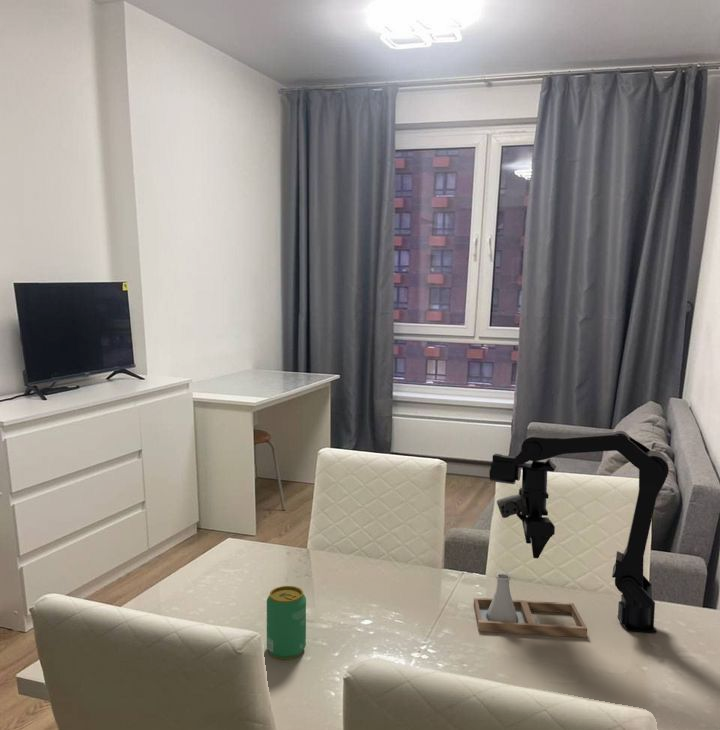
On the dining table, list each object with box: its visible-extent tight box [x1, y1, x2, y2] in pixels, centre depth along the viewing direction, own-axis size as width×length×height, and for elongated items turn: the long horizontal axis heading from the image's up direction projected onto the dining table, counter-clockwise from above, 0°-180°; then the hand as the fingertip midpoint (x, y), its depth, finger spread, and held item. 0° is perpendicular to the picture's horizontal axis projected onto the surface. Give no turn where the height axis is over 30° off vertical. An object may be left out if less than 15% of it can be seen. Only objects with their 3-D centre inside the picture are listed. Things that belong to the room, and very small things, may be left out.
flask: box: [486, 572, 518, 623], centre depth 136 cm, size 7×7×10 cm
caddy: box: [473, 597, 588, 638], centre depth 136 cm, size 23×12×2 cm, turn 84°
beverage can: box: [266, 585, 307, 660], centre depth 122 cm, size 8×8×12 cm
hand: (531, 550), depth 144 cm, fingers open, 9 cm apart
